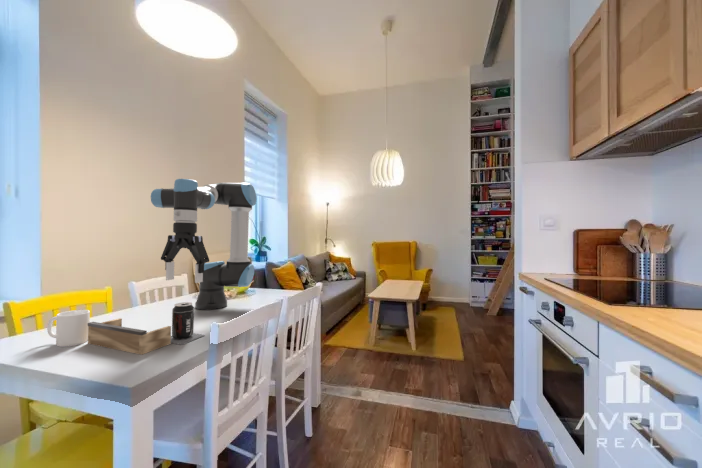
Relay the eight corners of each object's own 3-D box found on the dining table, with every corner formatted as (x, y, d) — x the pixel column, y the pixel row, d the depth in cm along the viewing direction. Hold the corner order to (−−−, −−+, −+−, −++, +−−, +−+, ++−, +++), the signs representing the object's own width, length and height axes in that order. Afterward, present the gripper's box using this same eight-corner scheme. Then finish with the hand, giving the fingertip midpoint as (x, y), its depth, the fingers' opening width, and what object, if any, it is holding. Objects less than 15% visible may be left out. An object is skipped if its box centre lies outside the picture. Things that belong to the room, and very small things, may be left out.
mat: (184, 332, 114) (184, 331, 114) (204, 335, 111) (204, 334, 111) (159, 341, 105) (159, 340, 105) (181, 345, 102) (181, 343, 102)
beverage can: (195, 337, 107) (196, 304, 108) (173, 342, 103) (174, 307, 103) (191, 333, 113) (191, 301, 113) (170, 336, 108) (170, 303, 108)
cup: (76, 346, 98) (77, 315, 98) (35, 347, 97) (36, 316, 97) (95, 338, 107) (95, 309, 107) (57, 338, 105) (58, 310, 105)
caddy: (119, 334, 111) (119, 315, 111) (170, 343, 102) (171, 323, 102) (87, 343, 101) (87, 323, 101) (141, 354, 93) (141, 332, 93)
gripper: (150, 221, 109) (149, 280, 109) (204, 221, 101) (203, 285, 101) (168, 222, 116) (167, 277, 116) (220, 222, 108) (219, 281, 108)
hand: (184, 281), depth 108 cm, fingers open, 13 cm apart
